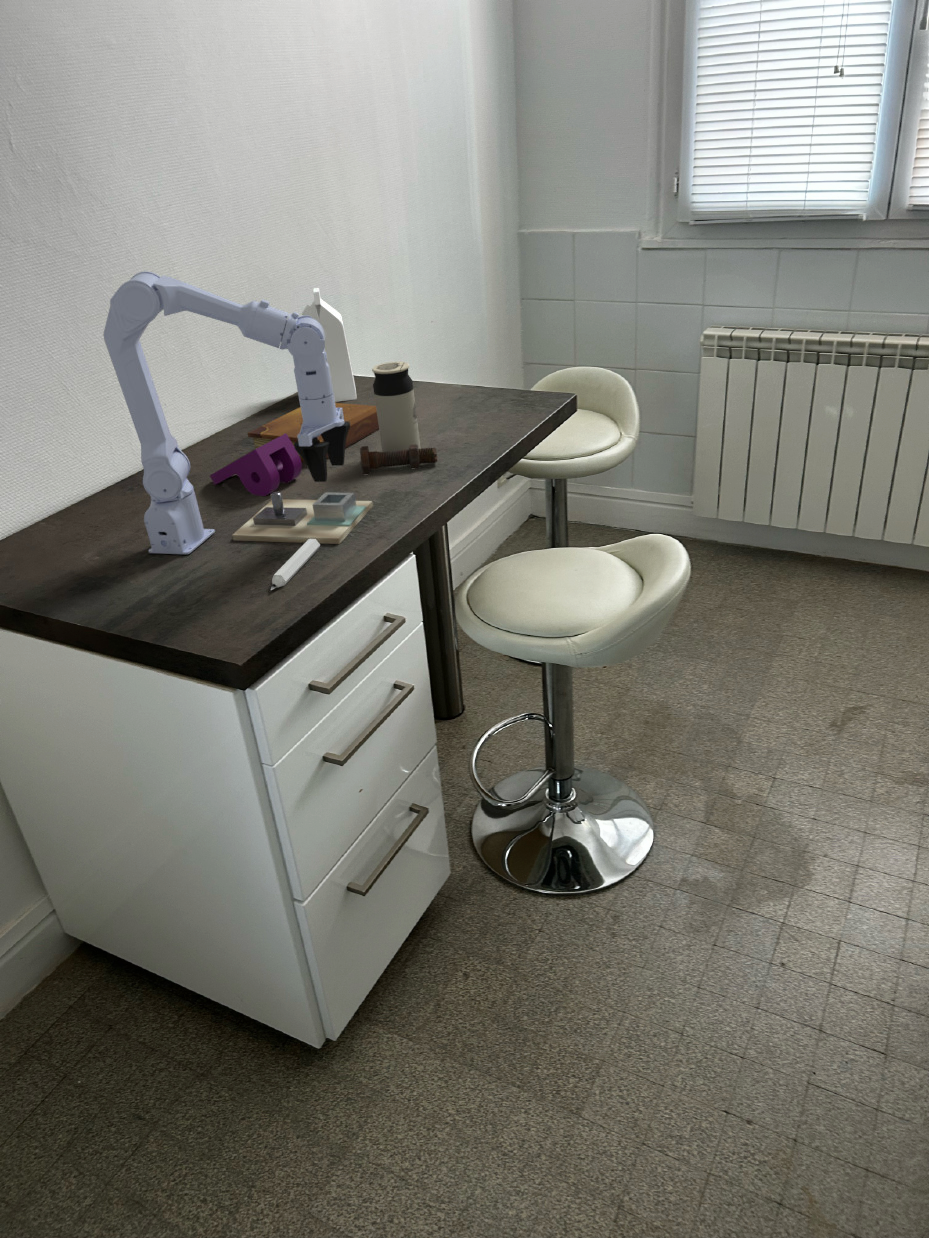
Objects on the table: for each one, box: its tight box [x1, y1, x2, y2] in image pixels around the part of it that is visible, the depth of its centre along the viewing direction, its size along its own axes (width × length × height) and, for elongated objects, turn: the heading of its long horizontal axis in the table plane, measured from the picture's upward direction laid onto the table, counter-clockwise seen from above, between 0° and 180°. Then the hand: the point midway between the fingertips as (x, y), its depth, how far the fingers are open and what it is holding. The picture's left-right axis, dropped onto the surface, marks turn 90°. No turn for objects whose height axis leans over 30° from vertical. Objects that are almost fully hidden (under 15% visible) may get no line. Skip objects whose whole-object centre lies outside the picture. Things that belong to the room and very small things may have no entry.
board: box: [231, 498, 374, 545], centre depth 162 cm, size 16×20×1 cm
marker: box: [270, 539, 321, 591], centre depth 146 cm, size 3×2×16 cm
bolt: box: [359, 444, 438, 475], centre depth 182 cm, size 6×5×15 cm
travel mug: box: [371, 361, 421, 452], centre depth 186 cm, size 8×8×18 cm
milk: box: [301, 287, 358, 403], centre depth 228 cm, size 12×12×26 cm
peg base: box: [253, 491, 307, 526], centre depth 161 cm, size 5×8×5 cm, turn 74°
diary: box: [247, 402, 379, 462], centre depth 201 cm, size 23×19×6 cm
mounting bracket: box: [209, 434, 303, 497], centre depth 182 cm, size 9×8×18 cm
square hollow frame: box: [313, 491, 357, 522], centre depth 160 cm, size 6×6×3 cm
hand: (329, 472), depth 157 cm, fingers open, 7 cm apart
